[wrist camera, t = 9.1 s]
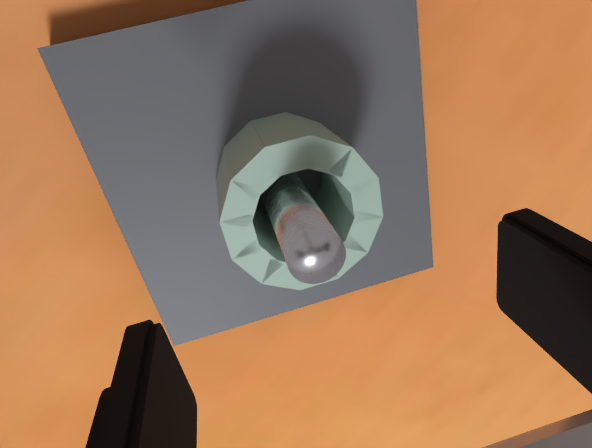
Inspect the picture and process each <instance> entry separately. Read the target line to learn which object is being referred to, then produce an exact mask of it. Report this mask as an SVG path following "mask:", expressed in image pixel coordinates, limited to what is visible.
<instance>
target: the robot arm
mask: <svg viewBox="0 0 592 448" xmlns="http://www.w3.org/2000/svg"><path fill="white" fill-rule="evenodd" d="M497 303H498V305H499V307H500V309H501V310H502V311H503V312H504V313H505V314H506V315H507V316H508V317H509V318H510V319H511V320H512V321H513V322H514V323H515V324H517V325H518V326H519V327H520V328H521V329H522V330H523V331H524V332H525V333H526V334H527V335H529V336H530V337H531V338H532V339H533V340H534V341H535V342H536V343H537V344H538V345H539V346H540V347H542V348H543V349H544V350H545V351H546V352H547V353H548V354H549V355H550V356H551V357H552V358H553V359H555V360H556V361H557V362H558V363H559V364H560V365H561V366H562V367H563V368H564V369H565V370H567V371H568V372H569V373H570V374H571V375H572V376H573V377H574V378H575V379H576V380H577V381H578V382H580V383H581V384H582V385H583V386H584V387H585V388H586V389H587V390H588V391H589V392H590V393H591V394H592V242H591V241H589V240H587V239H585V238H583V237H581V236H579V235H578V234H576V233H574V232H572V231H570V230H568V229H566V228H564V227H562V226H561V225H559V224H557V223H555V222H553V221H551V220H549V219H547V218H546V217H544V216H542V215H540V214H538V213H536V212H534V211H532V210H531V209H528V208H525V209H521V210H518V211H514V212H511V213H507V214H505V215H504V216H503V218H502V221H500V222H499V224H498V251H497ZM196 447H197V404H196V399H195V396H194V394H193V391H192V389H191V387H190V385H189V383H188V381H187V378H186V376H185V374H184V372H183V370H182V368H181V365H180V363H179V361H178V359H177V357H176V355H175V352H174V350H173V348H172V346H171V344H170V342H169V339H168V337H167V335H166V333H165V331H164V329H163V327H162V325H161V324H160V323H157V324H154V323H153V322H152V321H151V320H147V321H144V322H140V323H137V324H134V325H130V326H128V327H126V330H125V333H124V337H123V341H122V345H121V349H120V352H119V356H118V360H117V364H116V368H115V372H114V376H113V379H112V383H111V387H109V388H106V389H104V390H103V391H102V393H101V396H100V398H99V402H98V405H97V409H96V412H95V416H94V419H93V423H92V426H91V430H90V434H89V437H88V441H87V444H86V448H196ZM483 448H592V410H589V411H586V412H583V413H580V414H577V415H574V416H572V417H569V418H566V419H563V420H560V421H557V422H554V423H551V424H549V425H546V426H543V427H540V428H537V429H534V430H531V431H528V432H526V433H523V434H520V435H517V436H514V437H511V438H509V439H506V440H503V441H500V442H497V443H494V444H492V445H489V446H486V447H483Z"/></svg>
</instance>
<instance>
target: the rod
mask: <svg viewBox="0 0 592 448" xmlns="http://www.w3.org/2000/svg"><path fill="white" fill-rule="evenodd" d="M261 196H262V199H263V201H264V204H265V207H266V209H267V212H268V215H269V218H270V220H271V223H272V226H273V228H274V231H275V234H276V237H277V239H278V242H279V245H280V247H281V250H282V253H283V256H284V258H285V261H286V264H287V266H288V269H289V271H290V273H291V274H292V276H293V277H294V278H296V279H297V280H299V281H300V282H303V283H307V284H319V283H323V282H325V281H327V280H329V279H331V278H333V277H334V276H335V275H336V274H337V273H338V272H339V271H340V270H341V268H342V267H343V265H344V262H345V259H346V249H345V245H344V243H343V242H342V240H341V238H340V237H339V236H338V234H337V233H336V231H335V230H334V228H333V227H332V225H331V224H330V222H329V221H328V219H327V218H326V216H325V215H324V213H323V212H322V211H321V209H320V208H319V206H318V205H317V203H316V202H315V200H314V199H313V197H312V196H311V194H310V193H309V191H308V190H307V188H306V187H305V185H304V184H303V183H302V181H301V180H300V178H299V177H298V175H297V174H296V172H293V173H289V174H286V175H282V176H280V177H279V178H278V179H277V180H276V181H275V182H274V183H273V184H272V185H271V186H269V187H268V188H267V189H266V190H265V191H264V192H263V193H262V194H261Z"/></svg>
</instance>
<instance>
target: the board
mask: <svg viewBox="0 0 592 448" xmlns="http://www.w3.org/2000/svg"><path fill="white" fill-rule="evenodd" d="M37 49H38V51H39V53H40V55H41V57H42V59H43V62H44V64H45V66H46V68H47V70H48V73H49V75H50V77H51V79H52V81H53V83H54V86H55V88H56V90H57V92H58V94H59V97H60V99H61V101H62V103H63V105H64V107H65V110H66V112H67V114H68V116H69V118H70V121H71V123H72V125H73V127H74V129H75V131H76V134H77V136H78V138H79V140H80V142H81V145H82V147H83V149H84V151H85V153H86V155H87V158H88V160H89V162H90V164H91V166H92V169H93V171H94V173H95V175H96V177H97V179H98V182H99V184H100V186H101V188H102V190H103V193H104V195H105V197H106V199H107V201H108V203H109V206H110V208H111V210H112V212H113V214H114V217H115V219H116V221H117V223H118V225H119V227H120V230H121V232H122V234H123V236H124V238H125V241H126V243H127V245H128V247H129V249H130V251H131V254H132V256H133V258H134V260H135V262H136V265H137V267H138V269H139V271H140V273H141V275H142V278H143V280H144V282H145V284H146V286H147V289H148V291H149V293H150V295H151V297H152V299H153V302H154V304H155V306H156V308H157V310H158V313H159V315H160V317H161V319H162V321H163V323H164V326H165V328H166V330H167V332H168V334H169V337H170V339H171V341H172V343H173V345H174V346H176V345H179V344H182V343H186V342H189V341H192V340H195V339H199V338H202V337H205V336H208V335H212V334H215V333H218V332H222V331H225V330H228V329H231V328H235V327H238V326H241V325H245V324H248V323H251V322H254V321H258V320H261V319H264V318H268V317H271V316H274V315H277V314H281V313H284V312H287V311H291V310H294V309H297V308H300V307H304V306H307V305H310V304H314V303H317V302H320V301H323V300H327V299H330V298H333V297H336V296H340V295H343V294H346V293H350V292H353V291H356V290H359V289H363V288H366V287H369V286H373V285H376V284H379V283H382V282H386V281H389V280H392V279H396V278H399V277H402V276H405V275H409V274H412V273H415V272H419V271H422V270H425V269H428V268H432V267H433V255H432V239H431V224H430V208H429V193H428V177H427V162H426V146H425V131H424V115H423V100H422V84H421V69H420V53H419V38H418V22H417V7H416V0H247V1H243V2H238V3H234V4H230V5H225V6H221V7H217V8H212V9H208V10H203V11H199V12H195V13H190V14H186V15H182V16H177V17H173V18H168V19H164V20H160V21H155V22H151V23H147V24H142V25H138V26H133V27H129V28H125V29H120V30H116V31H111V32H107V33H103V34H98V35H94V36H90V37H85V38H81V39H76V40H72V41H68V42H63V43H59V44H55V45H50V46H46V47H41V48H37ZM283 112H287V113H291V114H294V115H297V116H300V117H304V118H307V119H310V120H314V121H317V122H319V123H321V124H322V125H323V126H325V127H326V128H327V129H329V130H330V131H331V132H333V133H334V134H335V135H337V136H338V137H339V138H341V139H342V140H343V141H345V142H346V143H347V144H349V145H350V146H351V147H353V148H354V149H355V151H356V152H357V153H358V154H359V155H360V157H361V158H362V159H363V160H364V161H365V162H366V164H367V165H368V166H369V167H370V168H371V170H372V171H373V172H374V173H375V174H376V175H377V177H378V178H379V185H380V193H381V201H382V210H383V219H382V221H381V223H380V226H379V228H378V230H377V233H376V235H375V238H374V240H373V242H372V245H371V247H370V249H369V252H368V253H367V254H366V255H365V256H364V257H363V258H361V259H360V260H359V261H358V262H357V263H356V264H355V265H353V266H352V267H351V268H350V269H349V270H348V271H347V272H345V273H344V274H343V275H342V276H341V277H340V278H339V279H336V280H333V281H329V282H326V283H323V284H319V285H316V286H313V287H309V288H306V289H303V290H295V289H289V288H283V287H277V286H271V285H265V284H261V283H260V282H259V281H257V280H256V279H255V278H254V277H252V276H251V275H250V274H249V273H247V272H246V271H245V270H244V269H242V268H241V267H240V266H239V265H237V264H236V263H235V262H234V261H232V259H231V256H230V253H229V250H228V247H227V244H226V241H225V238H224V235H223V232H222V229H221V226H220V223H219V212H218V201H217V190H216V177H217V173H218V169H219V165H220V161H221V157H222V153H223V149H224V146H225V145H226V144H227V143H228V142H229V141H230V140H231V139H232V138H233V137H234V136H235V135H236V134H237V133H238V132H239V131H240V130H241V129H242V128H243V127H245V126H246V125H247V124H248V123H249V122H250V121H252V120H256V119H260V118H264V117H268V116H272V115H275V114H279V113H283ZM296 174H297V175H298V177H299V178H300V180H301V181H302V183H303V184H304V185H305V187H306V188H307V190H308V191H309V193H310V194H311V196H312V197H313V199H315V198H316V196H317V193H318V190H319V187H320V184H321V181H322V174H321V172H320V171H316V170H312V169H309V168H308V169H304V170H301V171H297V172H296ZM256 208H257V209H258V210H259V211H260V212H261V213H264V214H268V212H267V209H266V207H265V204H264V201H263V199H262V196H261V195H260V197H259V200H258V204H257V207H256Z"/></svg>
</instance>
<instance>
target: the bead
mask: <svg viewBox="0 0 592 448" xmlns="http://www.w3.org/2000/svg"><path fill="white" fill-rule="evenodd" d="M308 168H309V169H312V170H316V171H320V172H321V174H322V181H321V184H320V187H319V190H318V193H317V196H316V198H315V199H314V200H315V202H316V203H317V205H318V206H319V208H320V209H321V211H322V212H323V213H324V215H325V216H326V218H327V219H328V221H329V222H330V224H331V225H332V227H333V228H334V230H335V231H336V233H337V234H338V236H339V237H340V238H341V240H342V242H343V243H344V245H345V249H346V259H345V262H344V265H343V267H342V268H341V270H340V271H339V272H338V273H337V274H336V275H335V276H334V277H333V278H331V279H329V280H327V281H325V282H323V283H326V282H329V281H333V280H336V279H339V278H340V277H341V276H342V275H343V274H344V273H345V272H347V271H348V270H349V269H350V268H351V267H352V266H353V265H355V264H356V263H357V262H358V261H359V260H360V259H361V258H363V257H364V256H365V255H366V254H367V253H368V252H369V249H370V247H371V245H372V242H373V240H374V238H375V235H376V233H377V230H378V228H379V226H380V223H381V221H382V219H383V210H382V201H381V193H380V185H379V178H378V177H377V175H376V174H375V173H374V172H373V171H372V170H371V168H370V167H369V166H368V165H367V164H366V162H365V161H364V160H363V159H362V158H361V157H360V155H359V154H358V153H357V152H356V151H355V149H354V148H353V147H351V146H350V145H349V144H347V143H346V142H345V141H343V140H342V139H341V138H339V137H338V136H337V135H335V134H334V133H333V132H331V131H330V130H329V129H327V128H326V127H325V126H323V125H322V124H321V123H319V122H317V121H314V120H310V119H307V118H304V117H300V116H297V115H294V114H291V113H287V112H283V113H279V114H275V115H272V116H268V117H264V118H260V119H256V120H252V121H250V122H249V123H248V124H247V125H246V126H245V127H243V128H242V129H241V130H240V131H239V132H238V133H237V134H236V135H235V136H234V137H233V138H232V139H231V140H230V141H229V142H228V143H227V144H226V145H225V146H224V149H223V153H222V157H221V161H220V165H219V169H218V173H217V177H216V190H217V201H218V212H219V223H220V226H221V229H222V232H223V235H224V238H225V241H226V244H227V247H228V250H229V253H230V256H231V259H232V261H234V262H235V263H236V264H237V265H239V266H240V267H241V268H242V269H244V270H245V271H246V272H247V273H249V274H250V275H251V276H252V277H254V278H255V279H256V280H257V281H259V282H260V283H261V284H265V285H271V286H277V287H283V288H289V289H295V290H303V289H306V288H309V287H313V286H316V285H319V284H323V283H319V284H307V283H303V282H300V281H299V280H297V279H296V278H294V277H293V276H292V274H291V273H290V271H289V269H288V266H287V264H286V261H285V258H284V256H283V253H282V250H281V247H280V245H279V242H278V239H277V237H276V234H275V231H274V228H273V226H272V223H271V220H270V218H269V215H268V214H264V213H261V212H260V211H259V210H258V209H257V208H256V207H257V204H258V200H259V197H260V195H261V194H262V193H263V192H264V191H265V190H266V189H267V188H268V187H269V186H271V185H272V184H273V183H274V182H275V181H276V180H277V179H278V178H279V177H280V176H282V175H286V174H289V173H293V172H297V171H301V170H304V169H308Z"/></svg>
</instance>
